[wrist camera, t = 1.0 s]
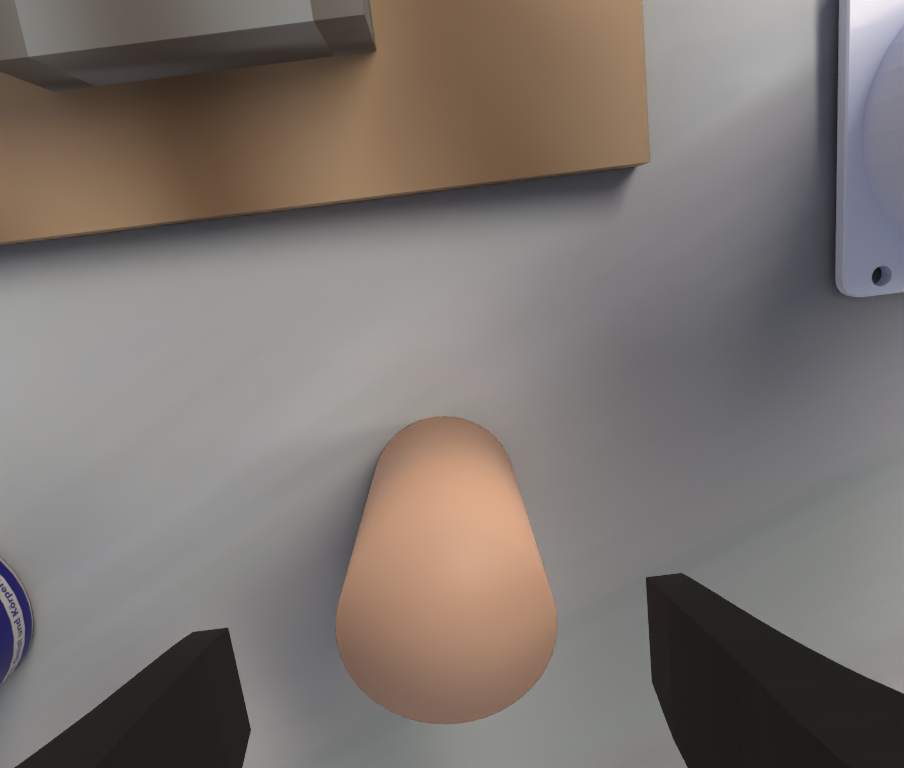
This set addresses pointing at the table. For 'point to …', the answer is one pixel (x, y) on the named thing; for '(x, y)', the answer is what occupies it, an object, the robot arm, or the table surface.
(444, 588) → the peg
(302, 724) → the table surface
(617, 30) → the socket base
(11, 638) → the energy drink
